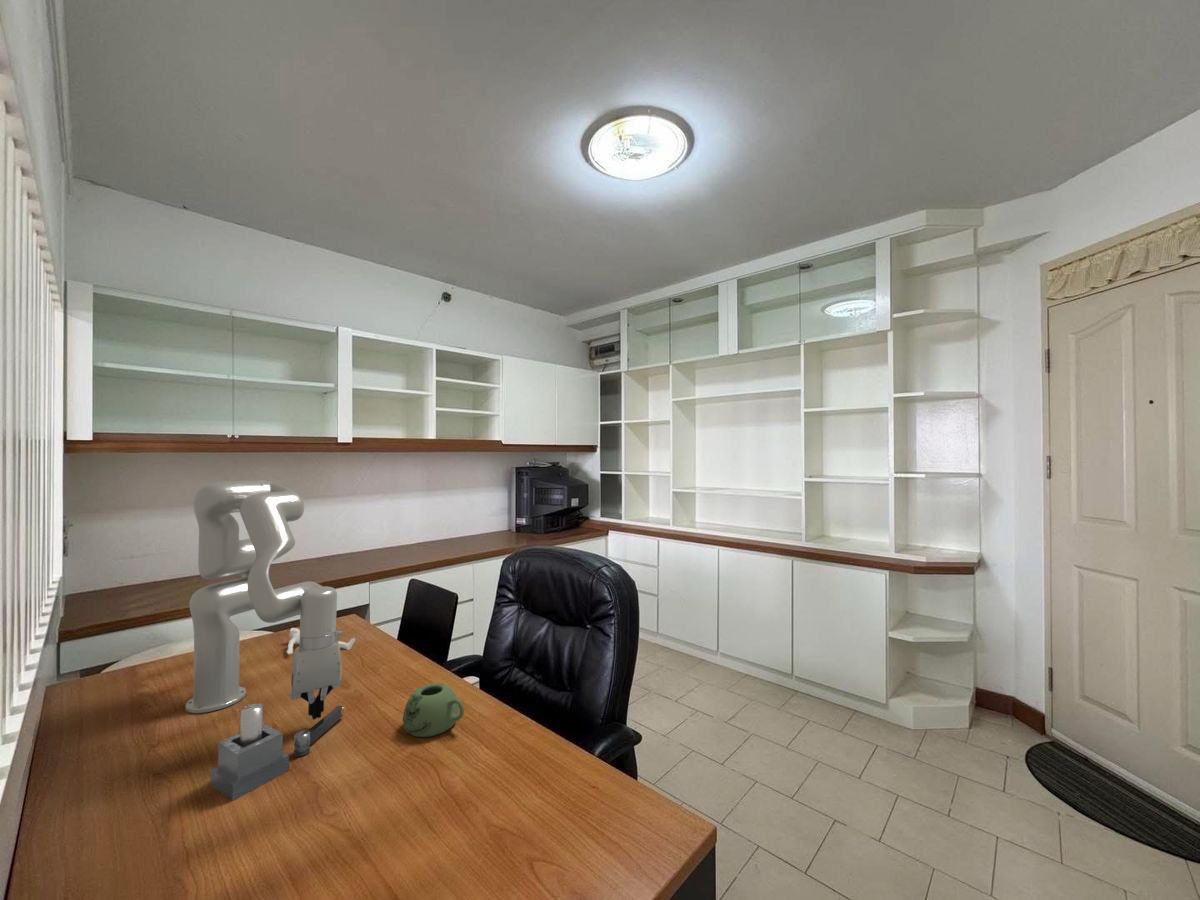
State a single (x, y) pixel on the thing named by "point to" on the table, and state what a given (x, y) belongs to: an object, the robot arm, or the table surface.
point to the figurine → (296, 640)
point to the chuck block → (249, 763)
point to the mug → (431, 710)
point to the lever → (316, 731)
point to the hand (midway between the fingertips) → (315, 716)
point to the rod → (251, 724)
